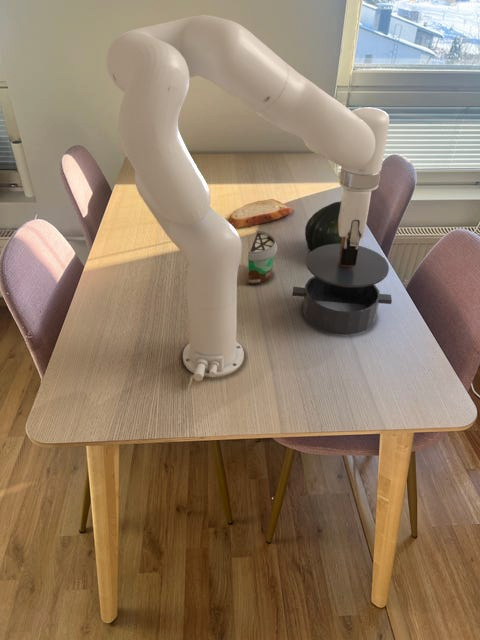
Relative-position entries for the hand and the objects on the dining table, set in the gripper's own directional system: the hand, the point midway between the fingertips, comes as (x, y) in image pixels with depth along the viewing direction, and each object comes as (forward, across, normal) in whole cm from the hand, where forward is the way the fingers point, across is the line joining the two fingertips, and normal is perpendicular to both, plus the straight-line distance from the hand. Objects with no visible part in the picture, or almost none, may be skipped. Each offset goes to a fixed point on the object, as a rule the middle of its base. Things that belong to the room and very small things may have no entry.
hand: (347, 258), depth 111 cm
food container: (+15, -13, -19) cm, 28 cm away
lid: (+2, 0, 0) cm, 2 cm away
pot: (+15, 0, 0) cm, 15 cm away
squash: (+15, -28, -2) cm, 32 cm away
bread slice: (+15, -47, -23) cm, 55 cm away
